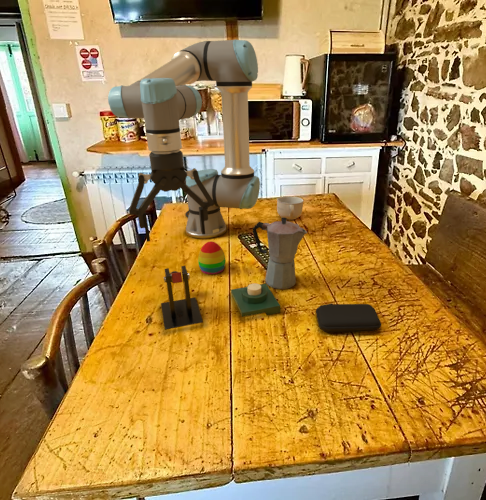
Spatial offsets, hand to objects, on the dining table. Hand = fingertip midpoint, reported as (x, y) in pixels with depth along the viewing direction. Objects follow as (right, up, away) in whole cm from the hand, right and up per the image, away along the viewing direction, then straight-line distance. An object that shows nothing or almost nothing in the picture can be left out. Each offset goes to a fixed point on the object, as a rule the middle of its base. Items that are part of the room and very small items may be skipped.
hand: (176, 236), depth 100 cm
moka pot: (+26, -13, +15) cm, 33 cm away
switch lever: (0, -12, 0) cm, 12 cm away
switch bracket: (+1, -20, 0) cm, 20 cm away
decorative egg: (+6, -10, +21) cm, 25 cm away
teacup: (+32, +9, +63) cm, 72 cm away
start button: (+20, -15, +3) cm, 25 cm away
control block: (+20, -18, +4) cm, 27 cm away
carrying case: (+43, -21, -3) cm, 48 cm away
